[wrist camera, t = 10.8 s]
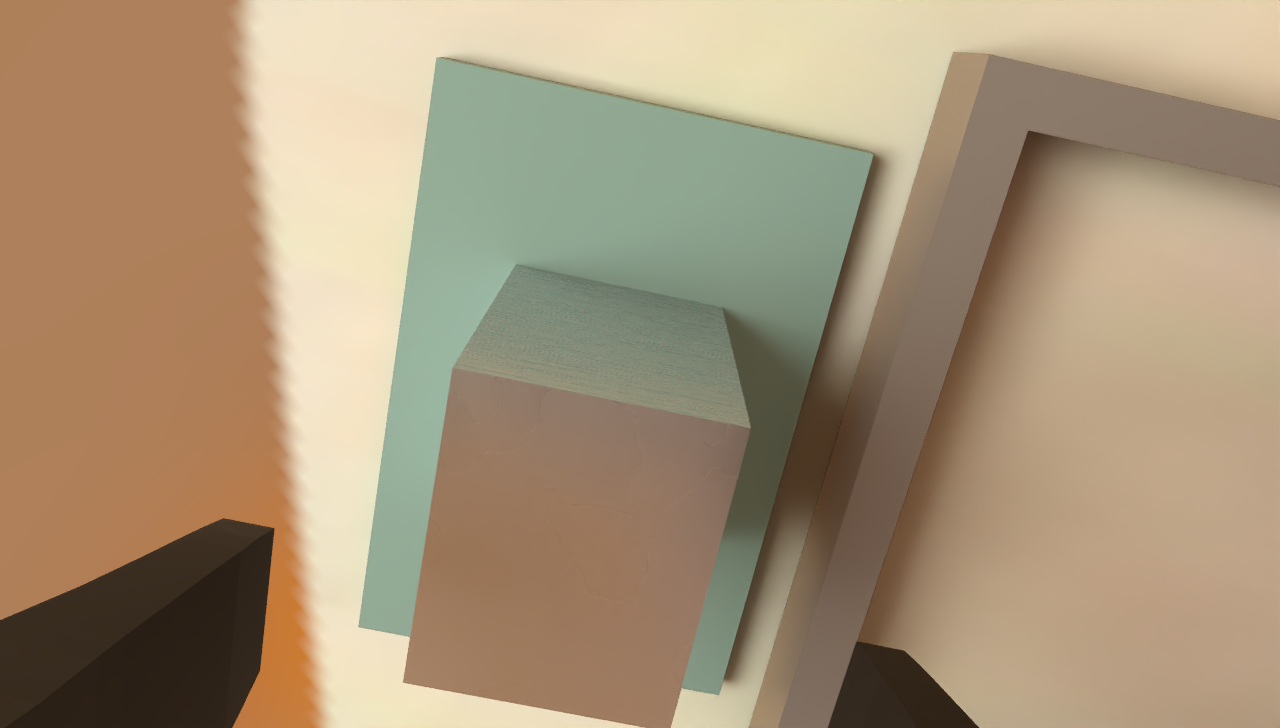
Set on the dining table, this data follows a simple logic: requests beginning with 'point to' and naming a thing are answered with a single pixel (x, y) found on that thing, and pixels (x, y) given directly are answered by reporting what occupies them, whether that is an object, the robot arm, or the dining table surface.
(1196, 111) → the equipment case
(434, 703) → the dining table surface
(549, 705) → the block
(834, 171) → the module mat
